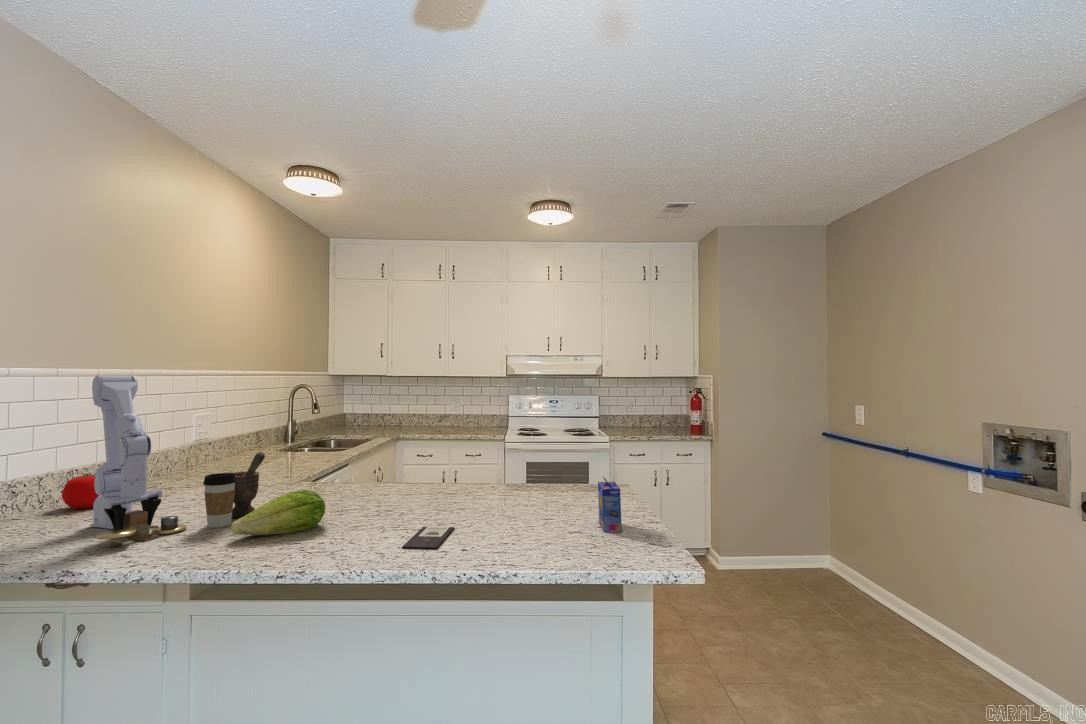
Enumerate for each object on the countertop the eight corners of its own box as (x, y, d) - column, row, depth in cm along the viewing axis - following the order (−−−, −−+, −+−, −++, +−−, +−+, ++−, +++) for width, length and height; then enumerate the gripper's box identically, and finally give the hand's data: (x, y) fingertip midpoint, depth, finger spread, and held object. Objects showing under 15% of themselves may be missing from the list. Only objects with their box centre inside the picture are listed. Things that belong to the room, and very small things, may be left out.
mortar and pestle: (273, 511, 172) (273, 449, 173) (260, 518, 164) (261, 453, 164) (235, 512, 171) (236, 449, 172) (221, 519, 163) (222, 453, 163)
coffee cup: (220, 530, 152) (221, 476, 152) (195, 528, 153) (196, 475, 154) (242, 522, 160) (243, 471, 160) (218, 520, 162) (219, 470, 162)
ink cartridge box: (597, 522, 159) (597, 473, 159) (615, 522, 159) (615, 473, 160) (602, 532, 149) (602, 480, 150) (622, 532, 149) (621, 480, 150)
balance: (88, 549, 135) (88, 533, 135) (172, 526, 156) (172, 512, 156) (110, 552, 132) (110, 536, 132) (193, 528, 153) (193, 514, 153)
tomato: (51, 511, 173) (52, 476, 173) (92, 501, 186) (92, 469, 186) (82, 512, 171) (83, 478, 171) (121, 503, 184) (122, 470, 184)
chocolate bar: (402, 546, 136) (423, 526, 153) (402, 550, 135) (423, 529, 153) (436, 547, 135) (454, 527, 153) (436, 551, 135) (454, 530, 153)
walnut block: (118, 535, 147) (119, 513, 147) (135, 531, 151) (136, 509, 151) (130, 537, 145) (130, 515, 145) (147, 532, 150) (147, 511, 150)
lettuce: (220, 517, 147) (231, 495, 140) (309, 496, 165) (323, 477, 158) (231, 558, 142) (243, 538, 135) (321, 532, 160) (336, 514, 153)
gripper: (116, 485, 140) (115, 537, 140) (170, 475, 154) (169, 523, 154) (97, 483, 142) (96, 535, 142) (152, 474, 156) (151, 521, 156)
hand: (133, 528), depth 148 cm, fingers open, 7 cm apart
